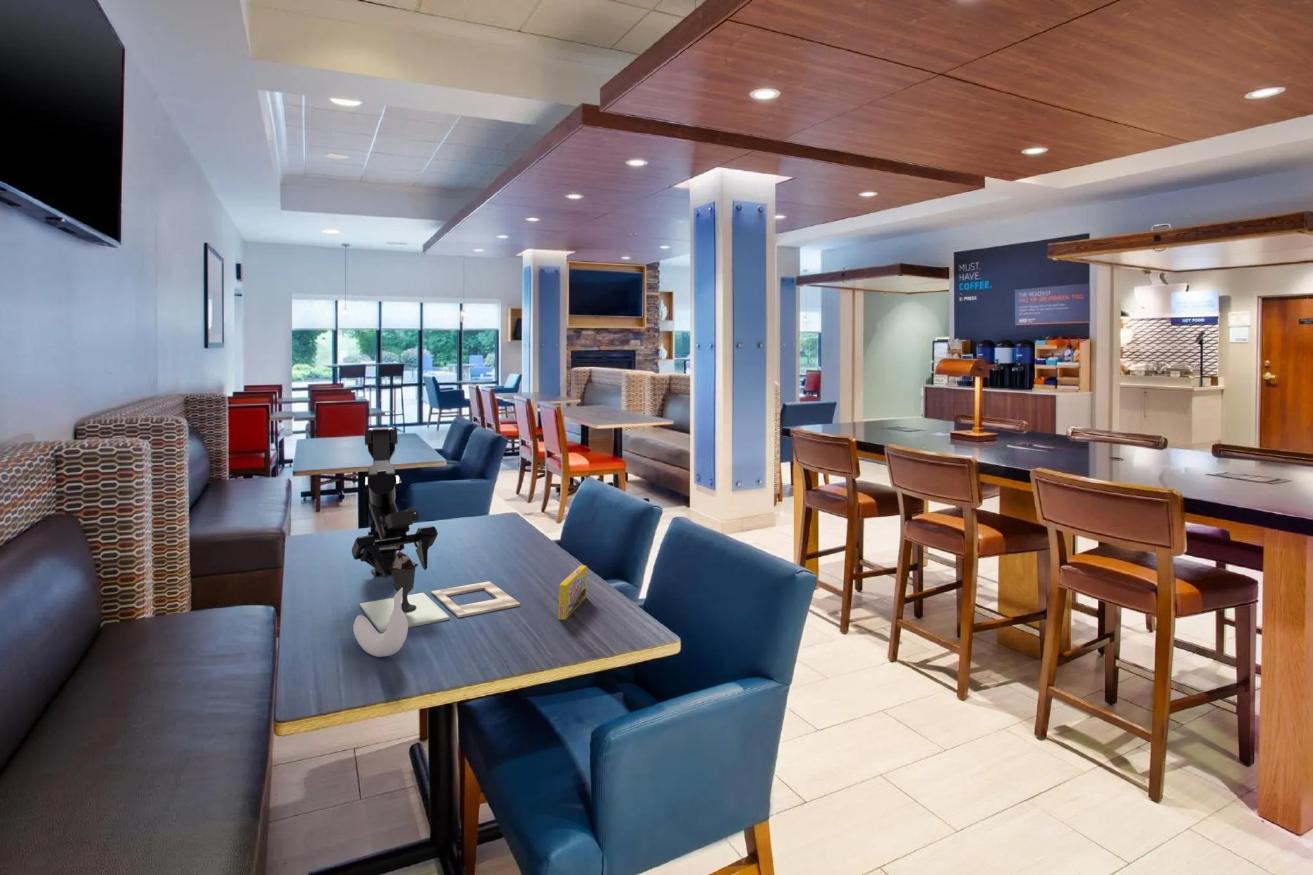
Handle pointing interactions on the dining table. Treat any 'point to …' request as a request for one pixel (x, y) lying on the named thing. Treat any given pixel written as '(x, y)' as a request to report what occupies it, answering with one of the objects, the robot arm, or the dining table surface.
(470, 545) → the dining table surface
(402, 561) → the sundae
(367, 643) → the white curved piece
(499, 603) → the wooden picture frame
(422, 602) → the stub pad
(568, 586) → the candy box
